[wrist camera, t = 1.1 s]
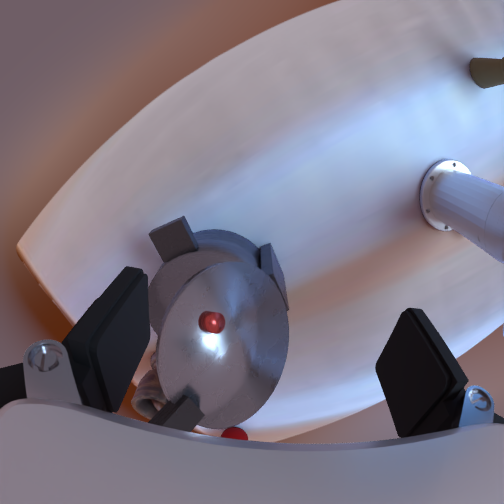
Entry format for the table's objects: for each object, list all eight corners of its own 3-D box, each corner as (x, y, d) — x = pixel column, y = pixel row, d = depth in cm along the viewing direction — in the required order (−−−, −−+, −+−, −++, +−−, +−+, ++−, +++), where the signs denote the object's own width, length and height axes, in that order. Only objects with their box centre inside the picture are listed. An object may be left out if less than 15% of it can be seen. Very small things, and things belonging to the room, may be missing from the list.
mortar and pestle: (178, 335, 53) (151, 419, 35) (207, 362, 56) (192, 445, 38) (142, 356, 56) (111, 430, 38) (170, 380, 59) (149, 453, 41)
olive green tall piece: (473, 87, 32) (514, 85, 22) (466, 55, 30) (505, 48, 20) (493, 89, 32) (532, 90, 22) (486, 60, 29) (525, 55, 19)
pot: (244, 181, 41) (240, 197, 32) (302, 321, 51) (309, 359, 42) (134, 231, 45) (107, 256, 36) (205, 349, 54) (197, 387, 45)
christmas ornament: (217, 424, 66) (213, 455, 57) (241, 420, 65) (239, 452, 56) (229, 436, 69) (227, 466, 59) (252, 432, 67) (252, 462, 58)
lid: (245, 230, 34) (263, 227, 32) (296, 345, 41) (312, 347, 39) (72, 383, 18) (81, 396, 16) (192, 482, 25) (207, 493, 23)
